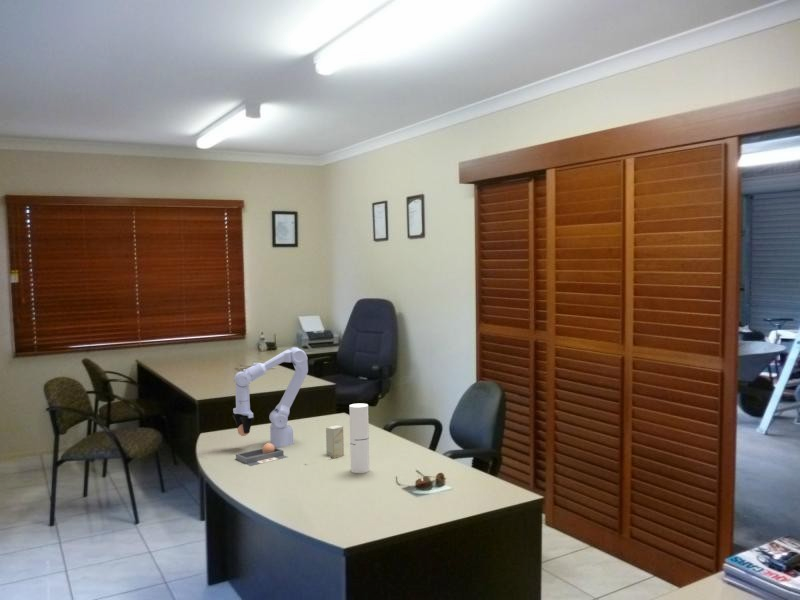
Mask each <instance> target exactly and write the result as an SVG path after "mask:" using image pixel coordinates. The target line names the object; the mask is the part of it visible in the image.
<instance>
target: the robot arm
mask: <svg viewBox="0 0 800 600" xmlns="http://www.w3.org/2000/svg"><path fill="white" fill-rule="evenodd" d="M308 359H309V358H308V356H307V354H306V351H304V350H303V349H300V348H299V347H297V346H293V347H291V348H288V349H286V350H284V351H282V352H281V353H278V354H277V355H275V356H273V357H272V358H270V359H268V360H266V361H265V362H262V363H261V362H254V363H253V364H252V365H251V366H250V367H247V368H244V369H243V370H242V371H238V372H237V373H236V374H235V375H234V378H233V381H234V383H235V390H234V392H235V407H234V408H233V409H232V411H233V412H232V413H233V414H232V418H233V419H234V422H235V425H236V429H237V430H238V427H239V426H240V425H241V424H243V430H244V434H246V433H248V434H249V433H250V431H251V427H252V424H253V421H254V419H255V416H254V412H252V410H251V403H250V399H251V398H250V389H249V388H250V387H249V384H251V382H253V381H255V380H258V379H259V378H261V377H263V376H264V375H266V373H267V370H270V369H272V368H274V367H276V366H278V365H280V364H282V363H292V364H293V367H294V373H293V375H292V377H291V380H290V381H289V383H288V385H287V387H286V389H285V391H284V394H283V396H282V397H281V399H280V401H279V403H278V404H277V405H276V406H275V408H274V409H273V410H272V411H271V412H270V413H269V416H268V417H269V418H268V419H269V421H270V422H271V424H270V426H269V429H270V430H269V436H270V437H269V438H270V440H269V441H270V443H271V444H273V445H274V447H276V448H285V447H287V446H290V445H294V443H295V442H294V429H293V427H292V426H291V425H290V424H288V418H289V416H290V409H291V407H292V405H293V403H294V401H295V399H296V397H297V395H298V393H299V391H300V389H301V387H302V385H303V383H304V380H305V378H306V377H307V375H308V372H309V363H308Z"/></svg>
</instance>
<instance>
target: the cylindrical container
mask: <svg viewBox="0 0 800 600" xmlns="http://www.w3.org/2000/svg"><path fill="white" fill-rule="evenodd" d="M348 409H349V442H350V443H349V447H350V448H349V449H350V450H349V452H350V455H349V456H350V472H351V473H354V474H364V473H368V472H370V433H369V432H370V431H369V430H370V429H369V426H370V425H369V404H368V403H359V402H358V403H352V404H349V407H348Z"/></svg>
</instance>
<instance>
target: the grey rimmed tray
mask: <svg viewBox="0 0 800 600" xmlns="http://www.w3.org/2000/svg"><path fill="white" fill-rule="evenodd" d="M284 454H285V453H284V450H282V449H281V448H279V447H275V451H274V452H272V453H268V454H264V453H263V451H262V448H257V449H253V450H249V451H244V452H240V453H239V452H238V453H236V454H235V460H236V461H238V462H241V463H243V464H245V465H247V466H249V467H253V466H258V465H263V464H265V463H270V462H274V461H278V460H283V459H285V458H288V456H287V455H284Z"/></svg>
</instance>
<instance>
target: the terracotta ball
mask: <svg viewBox="0 0 800 600" xmlns="http://www.w3.org/2000/svg"><path fill="white" fill-rule="evenodd" d="M237 433H238V435H240V436H241V437H244V436H245V437H246V436H247V435H249V433H246V434H244V430H243V424H241V425H240V426H239V427H238V429H237Z"/></svg>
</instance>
